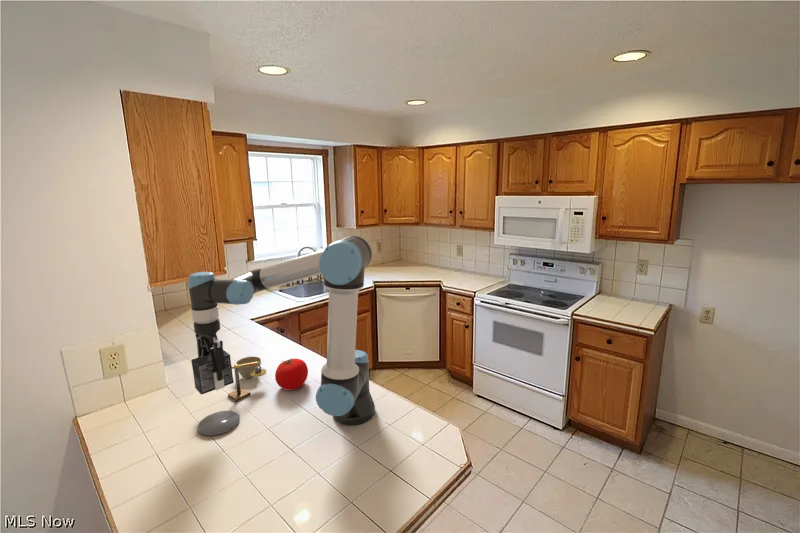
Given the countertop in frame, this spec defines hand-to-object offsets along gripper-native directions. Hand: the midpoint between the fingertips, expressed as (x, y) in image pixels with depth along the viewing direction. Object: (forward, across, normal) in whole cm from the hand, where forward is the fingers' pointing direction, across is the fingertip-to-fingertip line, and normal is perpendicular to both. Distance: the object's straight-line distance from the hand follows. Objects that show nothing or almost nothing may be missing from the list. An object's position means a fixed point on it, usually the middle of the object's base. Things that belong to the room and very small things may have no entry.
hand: (214, 384), depth 127 cm
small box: (+1, 0, 0) cm, 1 cm away
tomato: (+15, +1, -31) cm, 35 cm away
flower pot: (+15, +23, -25) cm, 37 cm away
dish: (+15, 0, 0) cm, 15 cm away
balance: (+15, +12, -14) cm, 24 cm away
